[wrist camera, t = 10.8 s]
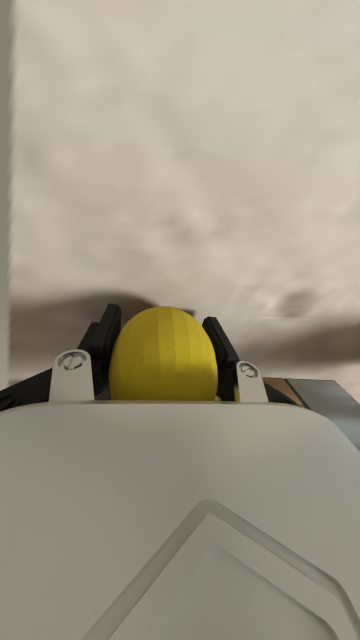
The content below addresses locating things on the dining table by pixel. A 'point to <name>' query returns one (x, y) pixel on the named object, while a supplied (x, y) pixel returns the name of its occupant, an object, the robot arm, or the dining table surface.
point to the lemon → (163, 359)
